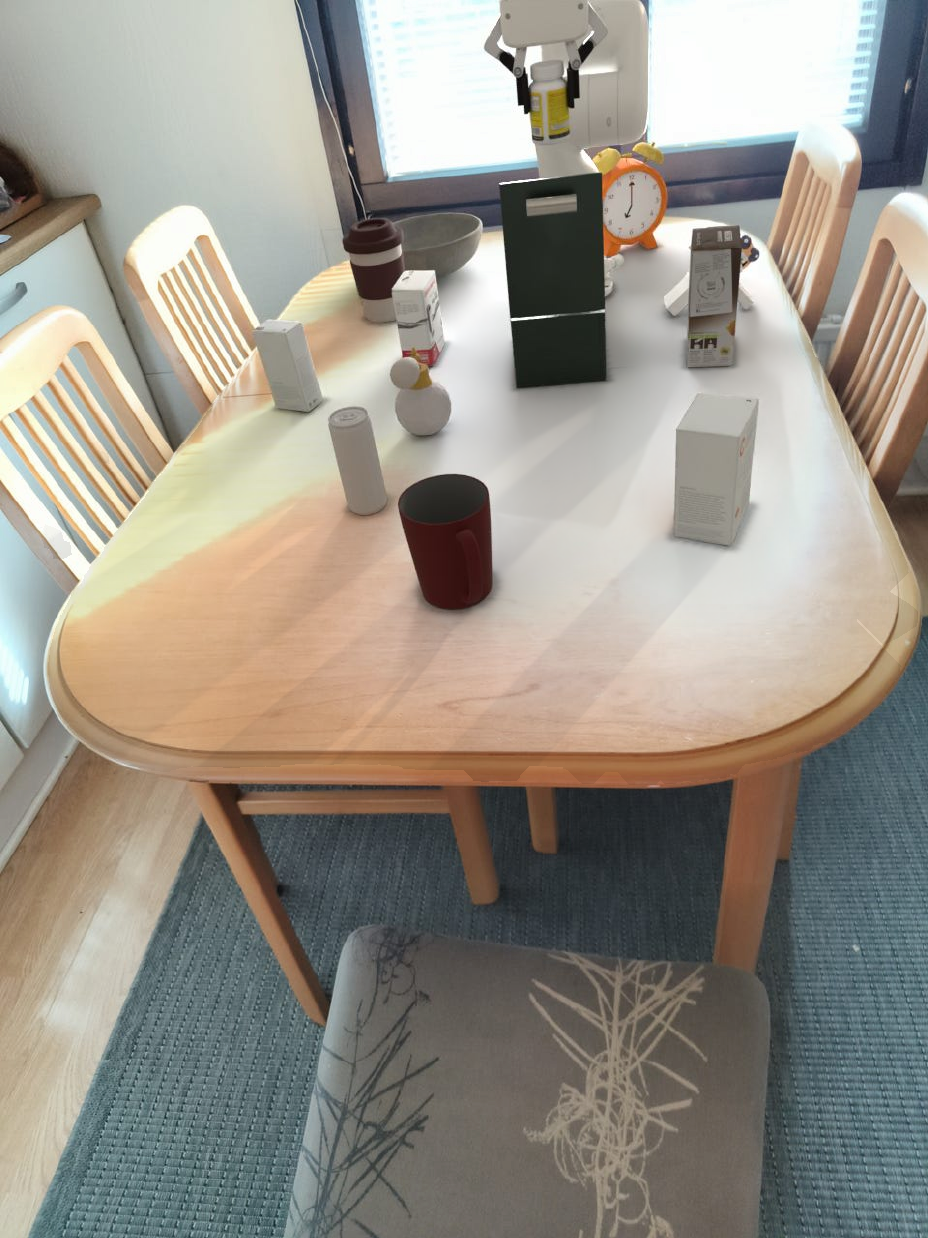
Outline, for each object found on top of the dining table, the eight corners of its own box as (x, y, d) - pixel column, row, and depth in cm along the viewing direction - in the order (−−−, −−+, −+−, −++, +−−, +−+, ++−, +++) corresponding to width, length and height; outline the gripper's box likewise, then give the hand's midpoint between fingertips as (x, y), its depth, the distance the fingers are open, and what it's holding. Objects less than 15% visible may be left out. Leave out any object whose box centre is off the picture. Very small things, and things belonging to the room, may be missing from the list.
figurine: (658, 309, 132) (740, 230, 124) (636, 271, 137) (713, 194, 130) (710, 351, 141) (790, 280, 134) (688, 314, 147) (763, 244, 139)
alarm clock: (598, 260, 160) (595, 137, 147) (587, 250, 164) (583, 130, 151) (667, 245, 161) (671, 123, 148) (654, 236, 166) (656, 116, 153)
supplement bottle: (573, 134, 112) (571, 57, 107) (564, 145, 109) (561, 66, 104) (537, 136, 114) (532, 60, 108) (527, 146, 111) (522, 68, 105)
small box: (692, 496, 100) (698, 390, 91) (750, 505, 97) (761, 396, 89) (671, 537, 95) (674, 428, 86) (730, 547, 92) (740, 436, 84)
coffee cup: (348, 325, 150) (329, 234, 141) (374, 302, 157) (357, 214, 148) (400, 328, 147) (384, 234, 137) (424, 304, 154) (410, 213, 144)
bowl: (445, 301, 154) (439, 254, 148) (351, 290, 163) (342, 245, 158) (506, 258, 166) (502, 213, 161) (415, 250, 176) (409, 207, 171)
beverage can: (348, 498, 108) (327, 409, 101) (387, 492, 108) (369, 402, 101) (348, 519, 105) (325, 429, 97) (388, 513, 105) (369, 422, 97)
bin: (518, 342, 137) (512, 278, 131) (600, 334, 136) (599, 270, 129) (516, 388, 125) (510, 321, 119) (606, 380, 124) (605, 312, 117)
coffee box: (733, 366, 122) (743, 247, 112) (686, 368, 124) (691, 250, 113) (731, 338, 129) (740, 223, 119) (685, 340, 130) (691, 226, 120)
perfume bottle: (450, 412, 122) (438, 328, 114) (460, 446, 115) (448, 359, 107) (397, 422, 122) (381, 338, 114) (403, 456, 115) (386, 370, 107)
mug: (525, 615, 88) (516, 523, 81) (442, 644, 86) (425, 552, 79) (481, 552, 97) (469, 464, 90) (404, 577, 95) (386, 490, 88)
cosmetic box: (324, 399, 130) (305, 319, 122) (307, 414, 127) (286, 333, 119) (290, 395, 132) (269, 316, 125) (273, 409, 130) (250, 329, 122)
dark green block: (499, 183, 110) (497, 190, 106) (601, 171, 108) (604, 178, 104) (510, 316, 119) (509, 328, 115) (605, 307, 117) (607, 319, 113)
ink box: (434, 367, 134) (422, 289, 126) (403, 368, 135) (389, 291, 127) (446, 342, 140) (435, 267, 133) (416, 343, 141) (404, 269, 134)
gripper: (615, -92, 99) (616, 93, 111) (464, -69, 101) (481, 110, 113) (620, -88, 93) (621, 107, 105) (460, -64, 95) (479, 124, 107)
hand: (549, 106), depth 109 cm, fingers closed on supplement bottle, 4 cm apart
